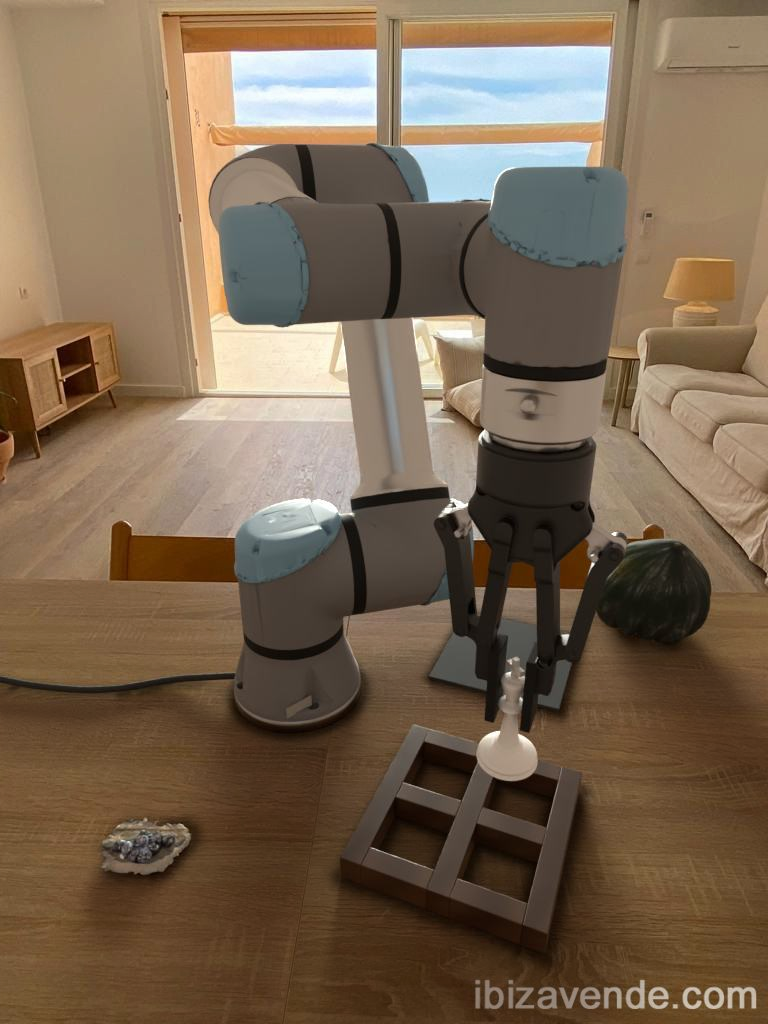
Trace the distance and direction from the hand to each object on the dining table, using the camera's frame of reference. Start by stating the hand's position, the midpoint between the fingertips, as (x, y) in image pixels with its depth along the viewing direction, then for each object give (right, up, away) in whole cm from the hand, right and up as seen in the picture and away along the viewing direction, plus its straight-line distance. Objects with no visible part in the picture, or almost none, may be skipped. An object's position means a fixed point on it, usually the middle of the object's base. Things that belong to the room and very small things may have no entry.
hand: (510, 715), depth 55 cm
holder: (-2, -14, +11) cm, 18 cm away
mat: (+6, -3, +35) cm, 36 cm away
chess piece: (0, -4, +2) cm, 5 cm away
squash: (+26, 0, +41) cm, 49 cm away
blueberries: (-32, -15, +10) cm, 37 cm away
